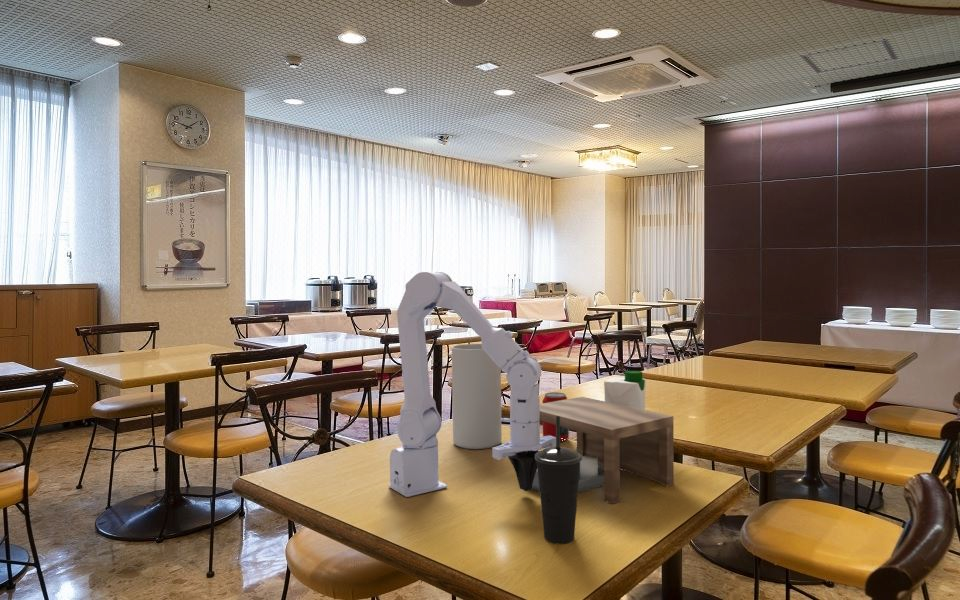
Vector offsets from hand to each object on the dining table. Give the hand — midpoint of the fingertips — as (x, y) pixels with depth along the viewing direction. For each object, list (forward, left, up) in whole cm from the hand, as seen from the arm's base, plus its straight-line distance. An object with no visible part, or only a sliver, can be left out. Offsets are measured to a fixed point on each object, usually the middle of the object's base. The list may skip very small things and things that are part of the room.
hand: (525, 489), depth 120 cm
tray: (+12, 0, -1) cm, 12 cm away
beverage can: (+32, +27, -2) cm, 42 cm away
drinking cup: (-8, -18, -2) cm, 20 cm away
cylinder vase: (+14, +37, -2) cm, 40 cm away
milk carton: (+36, +7, -2) cm, 37 cm away
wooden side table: (+19, 0, -1) cm, 19 cm away
